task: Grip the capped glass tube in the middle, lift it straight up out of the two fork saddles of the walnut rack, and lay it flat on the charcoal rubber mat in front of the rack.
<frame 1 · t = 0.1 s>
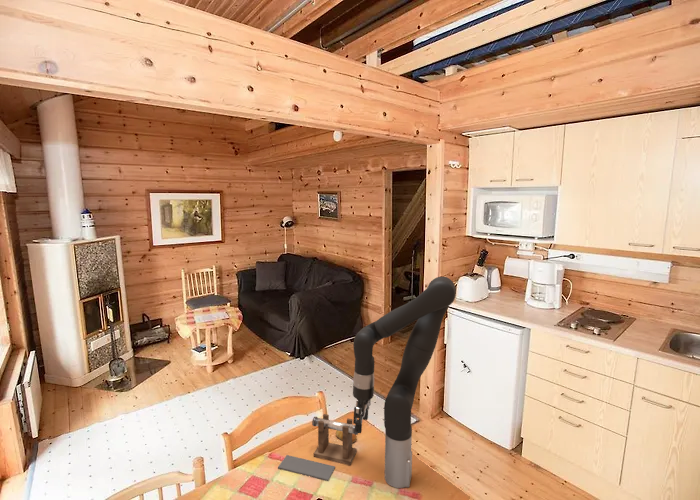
hand: (361, 425, 129), 17 cm above the table, tool pointing down, fingers open, 8 cm apart
capped glass tube: (335, 425, 138), point 12 cm above the table, touching rack
mat: (306, 468, 131), on the table
pastry: (346, 437, 150), on the table
rack: (335, 454, 139), on the table
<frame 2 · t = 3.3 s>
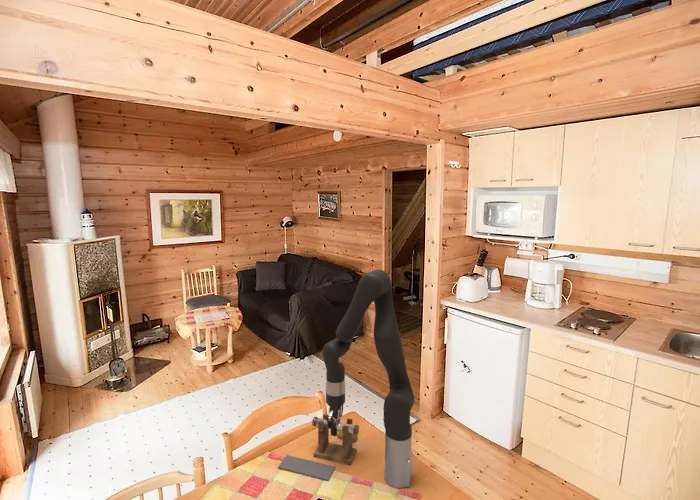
hand: (335, 432, 138), 9 cm above the table, tool pointing down, fingers closed on capped glass tube, 3 cm apart
capped glass tube: (335, 425, 138), point 12 cm above the table, touching gripper, rack
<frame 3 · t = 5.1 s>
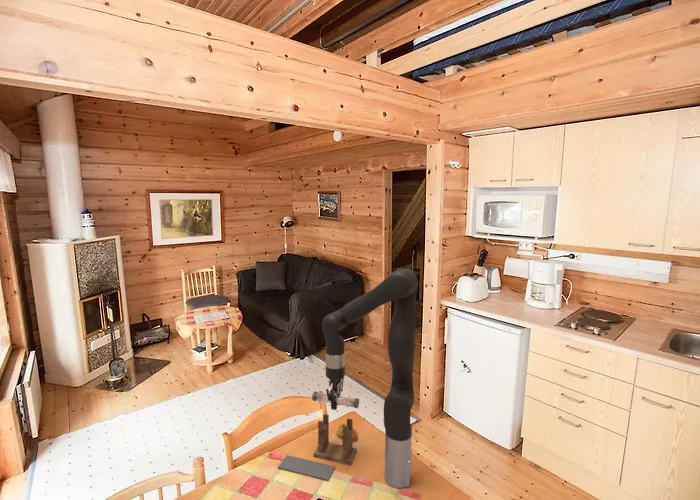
hand: (335, 406, 137), 20 cm above the table, tool pointing down, fingers closed on capped glass tube, 3 cm apart
capped glass tube: (335, 399, 137), point 23 cm above the table, touching gripper
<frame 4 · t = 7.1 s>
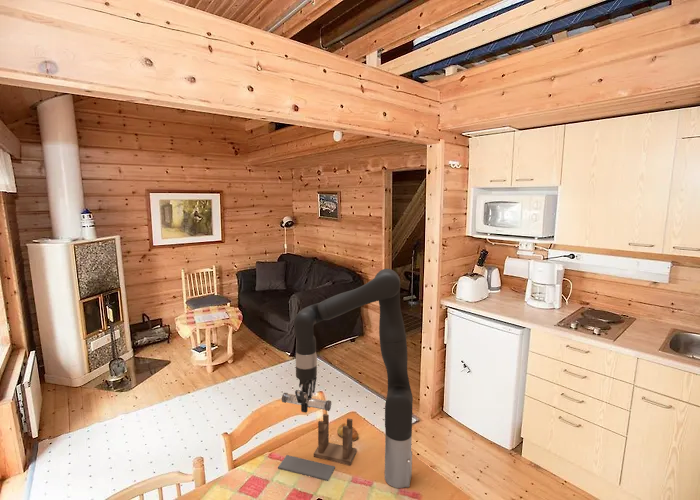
hand: (306, 409, 129), 23 cm above the table, tool pointing down, fingers closed on capped glass tube, 3 cm apart
capped glass tube: (306, 401, 129), point 26 cm above the table, touching gripper
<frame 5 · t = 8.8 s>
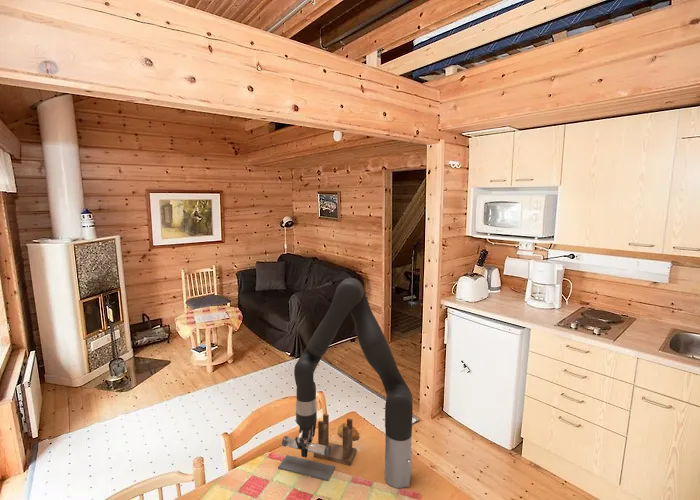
hand: (306, 453, 131), 6 cm above the table, tool pointing down, fingers closed on capped glass tube, 3 cm apart
capped glass tube: (306, 446, 130), point 9 cm above the table, touching gripper
when the fingers open (1 cm above the table, at t = 10.4 s): capped glass tube drops 2 cm, resting on mat.
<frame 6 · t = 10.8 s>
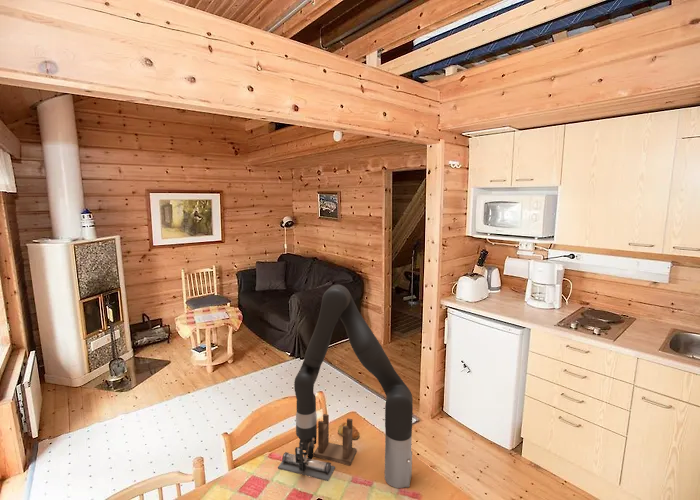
hand: (306, 463, 131), 2 cm above the table, tool pointing down, fingers open, 6 cm apart
capped glass tube: (306, 462, 131), point 2 cm above the table, touching mat
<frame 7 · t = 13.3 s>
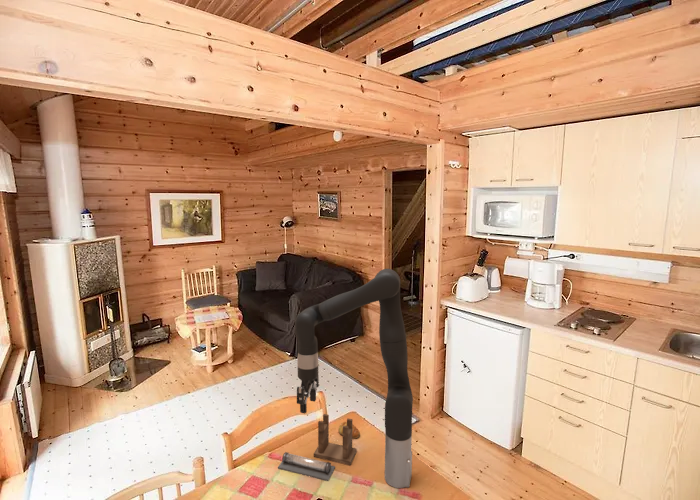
hand: (308, 406, 130), 24 cm above the table, tool pointing down, fingers open, 8 cm apart
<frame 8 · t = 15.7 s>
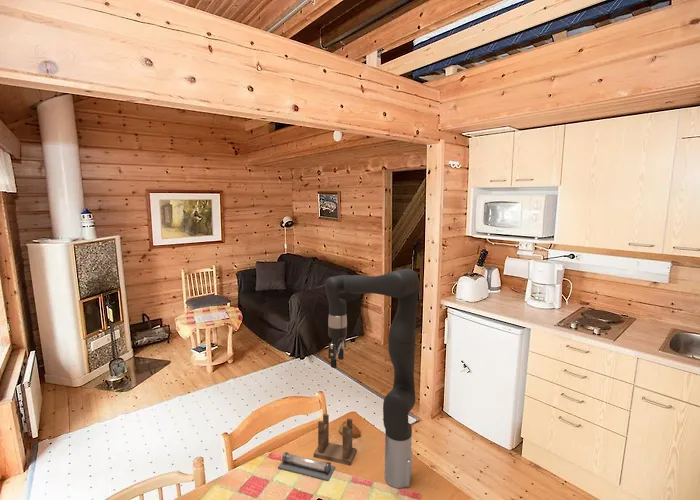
hand: (337, 363, 145), 33 cm above the table, tool pointing down, fingers open, 8 cm apart
at the end: capped glass tube inside the target area (0.0 cm from its centre), point 2.3 cm above the table; capped glass tube touching mat; the gripper is holding nothing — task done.
